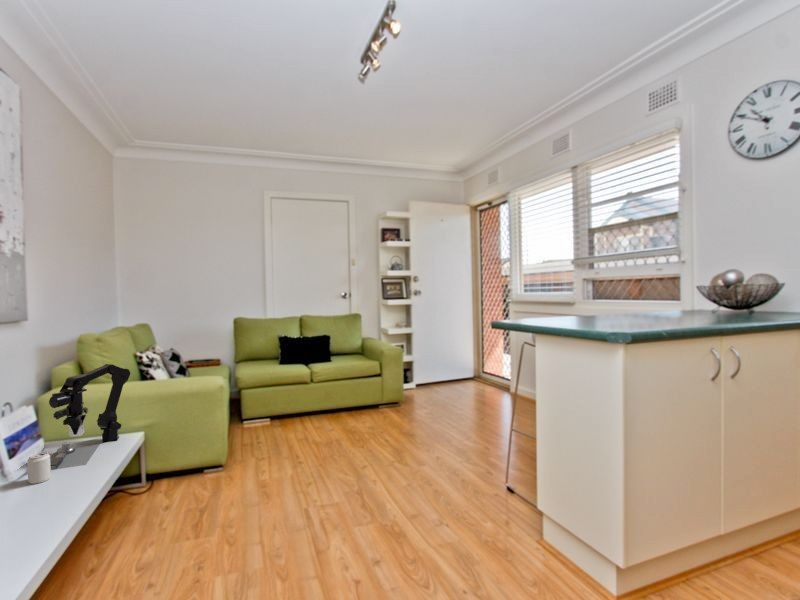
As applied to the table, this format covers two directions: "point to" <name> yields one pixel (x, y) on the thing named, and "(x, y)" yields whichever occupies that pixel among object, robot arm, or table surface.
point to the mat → (78, 456)
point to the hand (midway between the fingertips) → (76, 432)
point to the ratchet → (61, 455)
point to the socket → (80, 431)
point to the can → (39, 467)
